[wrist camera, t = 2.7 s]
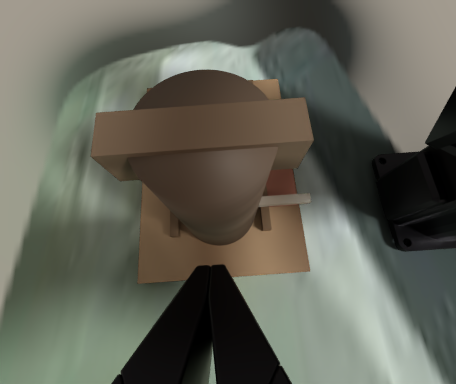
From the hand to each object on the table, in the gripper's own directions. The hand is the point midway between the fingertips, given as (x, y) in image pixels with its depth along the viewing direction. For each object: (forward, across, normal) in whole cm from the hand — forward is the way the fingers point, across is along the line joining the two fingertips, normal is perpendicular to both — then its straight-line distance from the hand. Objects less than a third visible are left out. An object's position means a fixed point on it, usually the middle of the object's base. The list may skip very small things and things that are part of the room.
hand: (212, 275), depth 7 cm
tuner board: (+11, 0, +1) cm, 11 cm away
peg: (+8, -1, +2) cm, 8 cm away
